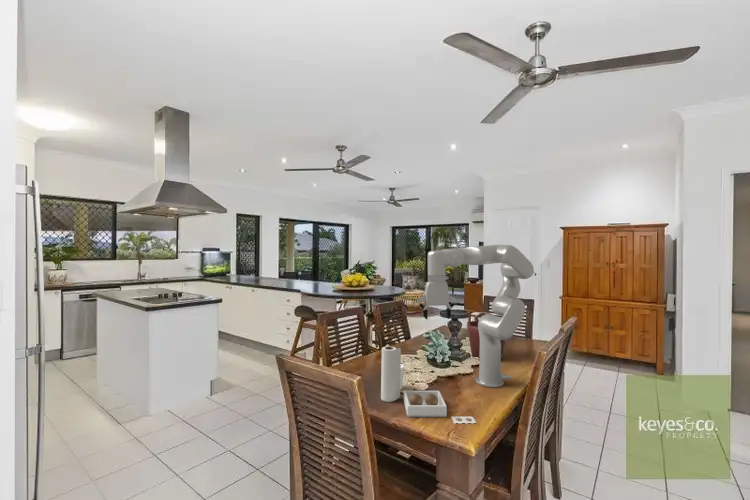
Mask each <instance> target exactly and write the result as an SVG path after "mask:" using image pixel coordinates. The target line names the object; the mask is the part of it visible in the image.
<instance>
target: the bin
mask: <svg viewBox="0 0 750 500" xmlns="http://www.w3.org/2000/svg"><path fill="white" fill-rule="evenodd" d="M413 394H419V395H421V397H422V399H423V403H422V405H411V403H410V397H411V396H412V395H413ZM428 394H435V395H436V396H437V398H438V404H437V405H427V404H426V402H425V398H426V396H427V395H428ZM403 403H404V408H405V412H406V416H407V418H447V417H448V416H447V412H448V411H447V410H448V409H447V408H448V407H447V404H446V402H445V400H444V398H443V395H442V394H441V392H440V390H403Z"/></svg>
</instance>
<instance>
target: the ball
mask: <svg viewBox="0 0 750 500" xmlns="http://www.w3.org/2000/svg"><path fill="white" fill-rule="evenodd" d="M425 402H426V404H427V405H437V404H438V398H437V396H436V395H435V394H428V395H427V396H426V398H425Z"/></svg>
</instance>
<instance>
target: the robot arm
mask: <svg viewBox="0 0 750 500" xmlns="http://www.w3.org/2000/svg"><path fill="white" fill-rule="evenodd" d="M490 264H491V265H492V264H500V268H499V269H500V273H501V277H502V285H501V287H500V289H499V291H498V293H497V294H496V296H495V297H494V299H493V301H492V303H491V311H492V312H493V313H494V314H495V315H494V314H492V315H486V314H484V315H482V316H481V317H479V318H478V319H479V321H478V330H479V337H480V357H479V359H478V360H479V363H478V364H479V366H478V375H477V376H476V377H475V383H477V384H478V385H480V386H483V387H487V388H501V387H503V386H505V385H504V384H505V383H504V381H505V380H508V381H510V380H511V379H512V377H511V375H507V374H506V373H501V362H502V361H501V360H502V357H501V342H500V340H505V341H508V340H510V339H511V338H512V337H513V336H514V334H515V333H516V331H517V330H518V327H519V326H520V324H521V322H522V320H523V318H524V317H525V313H526V306H525V303H524V301H523V300H521V299H520V298H518V297H519V296H520V293H521V284H520V281H519V279H521V280H527V279H530V278H532V276H533V274H534V271H535V269H534V265H533V264H532V261H530V260H529V259H528V258H527V257H526V256H525V255H524V254H523V253H522V252H521V251H520V250H519V249H518V248H517V247H515V246H514V245H511V244H493V245H492V244H491V245H490V244H489V245H478V246H477V245H476V246H468V247H457V248H444V249H443V248H442V249H441V250H430V251H428V252H427V281H425V285H424V294H423V295H422V296H421V297H419V298H417V299H416V301H417V303H418V306H419V307H420V308H421V309H422V310H423V311H422V312H423V313H422V315H423V318H424V320H428V308H429V307H431V306H433V307H434V306H435V307H436V306H439V307H440V306H445V307H446V309H445V310H446V311H445V312H446V313H445V317H446V318H447V319H448V320H449V319H450V318H451V316H452V313H451V311H452V308H453V307H455V304H456V303H457V301H458V300H457V298H455V297H453V296H452V295H450V293H449V286H448V285H449V284H448V281H447V280H449V279H450V277H449V275H447V274H446V267H450V268H457V267H460V266H461V265H466V266H467V265H470V266H481V265H483V266H484V265H490ZM450 300H451V302H450ZM422 301H424V304H423V303H422ZM449 303H450V304H449ZM500 316H501V317H500Z"/></svg>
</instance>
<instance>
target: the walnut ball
mask: <svg viewBox="0 0 750 500" xmlns="http://www.w3.org/2000/svg"><path fill="white" fill-rule="evenodd" d="M410 403H411V405H422V403H423V399H422V397H421V395H419V394H413V395H412V396H411V397H410Z"/></svg>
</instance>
